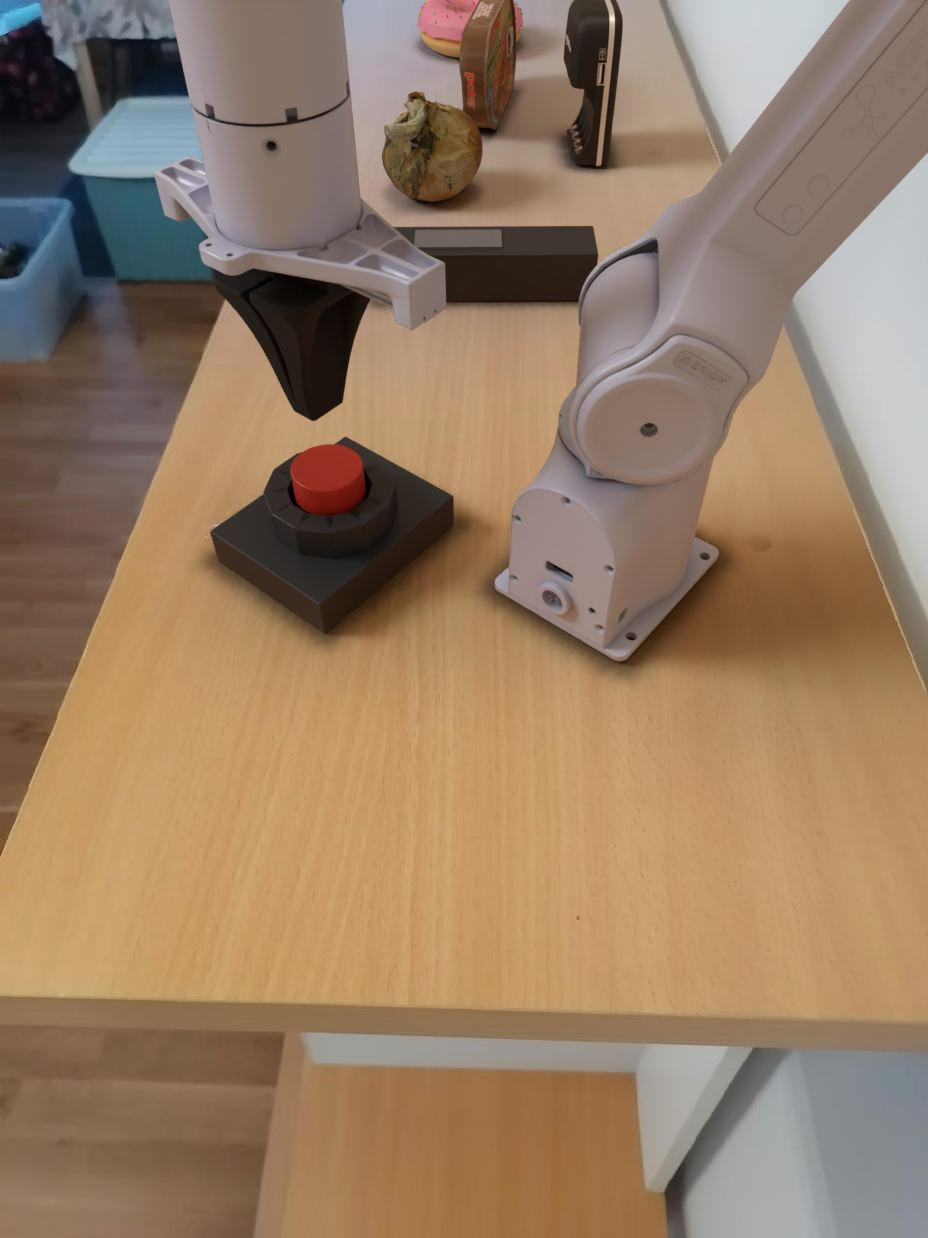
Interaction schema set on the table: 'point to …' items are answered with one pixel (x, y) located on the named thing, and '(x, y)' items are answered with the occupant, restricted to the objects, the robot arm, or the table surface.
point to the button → (328, 480)
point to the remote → (510, 260)
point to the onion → (431, 150)
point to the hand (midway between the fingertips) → (318, 406)
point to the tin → (488, 61)
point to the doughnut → (450, 24)
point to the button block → (333, 539)
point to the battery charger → (593, 76)
